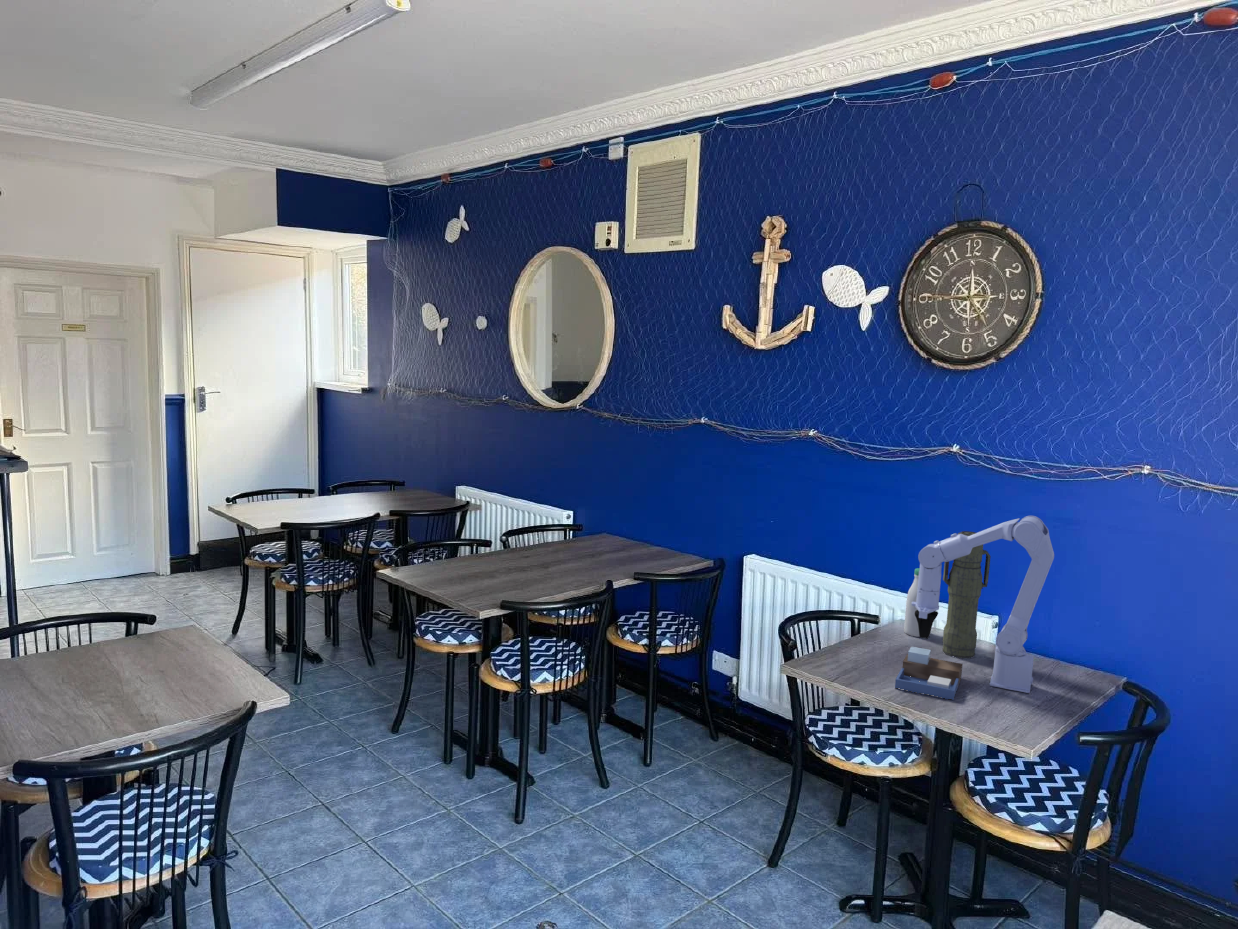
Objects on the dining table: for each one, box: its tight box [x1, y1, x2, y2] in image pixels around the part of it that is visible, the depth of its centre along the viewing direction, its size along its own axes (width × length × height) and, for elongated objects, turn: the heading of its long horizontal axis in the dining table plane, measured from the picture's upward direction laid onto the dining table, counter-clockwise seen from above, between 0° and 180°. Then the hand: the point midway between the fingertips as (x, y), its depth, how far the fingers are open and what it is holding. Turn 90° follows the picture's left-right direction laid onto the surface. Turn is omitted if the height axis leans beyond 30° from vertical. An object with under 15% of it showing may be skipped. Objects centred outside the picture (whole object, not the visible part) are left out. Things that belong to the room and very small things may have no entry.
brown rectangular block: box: [901, 653, 963, 687], centre depth 233 cm, size 14×7×4 cm, turn 63°
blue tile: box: [907, 646, 932, 665], centre depth 234 cm, size 5×5×2 cm
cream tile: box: [927, 675, 951, 689], centre depth 223 cm, size 5×5×2 cm
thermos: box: [942, 530, 991, 659], centre depth 251 cm, size 9×12×35 cm
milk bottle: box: [903, 567, 932, 638], centre depth 268 cm, size 8×8×20 cm
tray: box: [894, 667, 959, 701], centre depth 225 cm, size 14×10×2 cm
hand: (924, 637), depth 241 cm, fingers closed
